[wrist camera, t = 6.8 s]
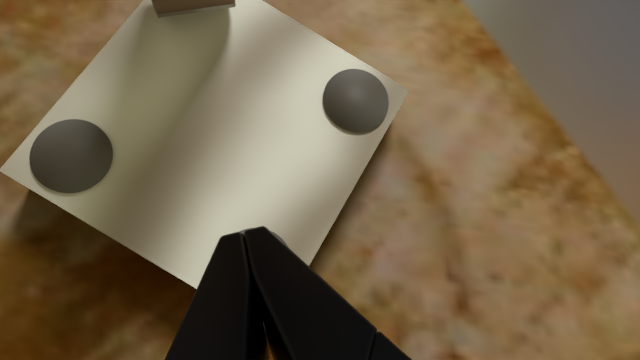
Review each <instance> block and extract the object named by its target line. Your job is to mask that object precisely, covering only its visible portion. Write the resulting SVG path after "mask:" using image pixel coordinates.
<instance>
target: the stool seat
mask: <svg viewBox="0 0 640 360" xmlns="http://www.w3.org/2000/svg"><path fill="white" fill-rule="evenodd" d="M235 3H236V6H235V7H232V8H225V9H218V10H210V11H203V12H196V13H189V14H182V15H175V16H168V17H161V18H158V17H157V15H156V12H155V10H154V7H153V4H152V1H151V0H143V1H142V2H141V4H140V5H139V6H138V7H137V8H136V10H135V11H134V12H133V13H132V14H131V15H130V17H129V18H128V19H127V20H126V21H125V22H124V24H123V25H122V26H121V27H120V28H119V30H118V31H117V32H116V33H115V34H114V35H113V37H112V38H111V39H110V40H109V41H108V43H107V44H106V45H105V46H104V47H103V48H102V50H101V51H100V52H99V53H98V54H97V55H96V57H95V58H94V59H93V60H92V61H91V63H90V64H89V65H88V66H87V67H86V68H85V70H84V71H83V72H82V73H81V74H80V76H79V77H78V78H77V79H76V80H75V81H74V83H73V84H72V85H71V86H70V87H69V89H68V90H67V91H66V92H65V93H64V94H63V96H62V97H61V98H60V99H59V100H58V101H57V103H56V104H55V105H54V106H53V107H52V109H51V110H50V111H49V112H48V113H47V114H46V116H45V117H44V118H43V119H42V120H41V122H40V123H39V124H38V125H37V126H36V127H35V129H34V130H33V131H32V132H31V133H30V135H29V136H28V137H27V138H26V139H25V140H24V142H23V143H22V144H21V145H20V146H19V147H18V149H17V150H16V151H15V152H14V153H13V155H12V156H11V157H10V158H9V159H8V160H7V162H6V163H5V164H4V165H3V166H2V168H1V169H0V171H1V172H2V173H4V174H6V175H7V176H9V177H11V178H12V179H14V180H16V181H17V182H19V183H21V184H22V185H24V186H26V187H27V188H29V189H31V190H32V191H34V192H36V193H37V194H39V195H41V196H42V197H44V198H46V199H47V200H49V201H51V202H52V203H54V204H56V205H57V206H59V207H61V208H62V209H64V210H66V211H67V212H69V213H71V214H72V215H74V216H76V217H77V218H79V219H81V220H82V221H84V222H86V223H87V224H89V225H91V226H92V227H94V228H96V229H97V230H99V231H101V232H102V233H104V234H106V235H107V236H109V237H111V238H112V239H114V240H116V241H117V242H119V243H121V244H122V245H124V246H126V247H127V248H129V249H131V250H132V251H134V252H136V253H137V254H139V255H141V256H142V257H144V258H146V259H147V260H149V261H151V262H152V263H154V264H156V265H157V266H159V267H161V268H162V269H164V270H166V271H167V272H169V273H171V274H172V275H174V276H176V277H177V278H179V279H181V280H182V281H184V282H186V283H187V284H189V285H191V286H192V287H194V288H196V289H197V287H198V285H199V283H200V281H201V278H202V276H203V274H204V272H205V270H206V267H207V265H208V263H209V261H210V259H211V256H212V254H213V252H214V250H215V248H216V245H217V243H218V241H219V239H220V237H221V236H223V235H227V234H231V233H235V232H242V233H243V234H244V231H245V230H247V229H251V228H256V227H260V226H265V227H266V228H268V229H269V230H270V231H271V232H272V233H273V234H274V235H275V236H276V237H278V238H279V239H280V240H281V241H282V242H283V243H284V244H285V245H286V246H287V247H288V248H290V249H291V250H292V251H293V252H294V253H295V254H296V255H297V256H298V257H299V258H300V259H302V260H303V261H304V262H305V263H306V264H307V265H308V266H309V265H310V263H311V262H312V260H313V258H314V256H315V255H316V253H317V251H318V249H319V248H320V246H321V244H322V242H323V241H324V239H325V237H326V235H327V234H328V232H329V230H330V228H331V227H332V225H333V223H334V221H335V220H336V218H337V216H338V214H339V213H340V211H341V209H342V207H343V206H344V204H345V202H346V200H347V199H348V197H349V195H350V193H351V192H352V190H353V188H354V186H355V185H356V183H357V181H358V179H359V178H360V176H361V174H362V173H363V171H364V169H365V167H366V166H367V164H368V162H369V160H370V159H371V157H372V155H373V153H374V152H375V150H376V148H377V146H378V145H379V143H380V141H381V139H382V138H383V136H384V134H385V132H386V131H387V129H388V127H389V125H390V124H391V122H392V120H393V118H394V117H395V115H396V113H397V111H398V110H399V108H400V106H401V104H402V103H403V101H404V99H405V97H406V96H407V94H408V92H409V90H408V89H406V88H405V87H403V86H402V85H400V84H398V83H397V82H395V81H393V80H392V79H390V78H388V77H387V76H385V75H384V74H382V73H380V72H379V71H377V70H375V69H374V68H372V67H370V66H369V65H367V64H365V63H364V62H362V61H361V60H359V59H357V58H356V57H354V56H352V55H351V54H349V53H347V52H346V51H344V50H343V49H341V48H339V47H338V46H336V45H334V44H333V43H331V42H329V41H328V40H326V39H324V38H323V37H321V36H320V35H318V34H316V33H315V32H313V31H311V30H310V29H308V28H306V27H305V26H303V25H302V24H300V23H298V22H297V21H295V20H293V19H292V18H290V17H288V16H287V15H285V14H283V13H282V12H280V11H279V10H277V9H275V8H274V7H272V6H270V5H269V4H267V3H265V2H264V1H262V0H235ZM264 328H265V327H264Z"/></svg>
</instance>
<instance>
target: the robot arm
mask: <svg viewBox="0 0 640 360" xmlns="http://www.w3.org/2000/svg"><path fill="white" fill-rule="evenodd" d="M264 327H265V328H264ZM265 331H266V332H265ZM266 335H267V338H266ZM267 339H268V343H269V346H270V349H271V353H272V356H273V359H274V360H412V359H411V358H409V357H408V356H407V355H406V354H405V353H404V352H402V351H401V350H400V349H399V348H398V347H397V346H396V345H394V344H393V343H392V342H391V341H390V340H389V339H388V338H387V337H386V336H385V335H384V334H382V333H381V332H377V328H376V327H375V326H373V325H372V324H371V323H370V322H369V321H368V320H367V319H366V318H365V317H364V316H363V315H361V314H360V313H359V312H358V311H357V310H356V309H355V308H354V307H353V306H352V305H351V304H349V303H348V302H347V301H346V300H345V299H344V298H343V297H342V296H341V295H340V294H339V293H337V292H336V291H335V290H334V289H333V288H332V287H331V286H330V285H329V284H328V283H327V282H325V281H324V280H323V279H322V278H321V277H320V276H319V275H318V274H317V273H316V272H315V271H314V270H312V269H311V268H310V267H309V266H308V265H307V264H306V263H305V262H304V261H303V260H302V259H300V258H299V257H298V256H297V255H296V254H295V253H294V252H293V251H292V250H291V249H290V248H288V247H287V246H286V245H285V244H284V243H283V242H282V241H281V240H280V239H279V238H278V237H276V236H275V235H274V234H273V233H272V232H271V231H270V230H269V229H268V228H266V227H265V226H260V227H256V228H251V229H247V230H245V231H244V234H243V233H242V232H235V233H231V234H227V235H223V236H221V237H220V239H219V241H218V243H217V245H216V248H215V250H214V252H213V254H212V256H211V259H210V261H209V263H208V265H207V267H206V270H205V272H204V274H203V276H202V278H201V281H200V283H199V285H198V287H197V290H196V292H195V294H194V296H193V298H192V301H191V303H190V305H189V307H188V309H187V312H186V314H185V316H184V318H183V320H182V323H181V325H180V327H179V329H178V331H177V334H176V336H175V338H174V340H173V342H172V345H171V347H170V349H169V351H168V353H167V356H166V358H165V360H269V352H268V343H267Z"/></svg>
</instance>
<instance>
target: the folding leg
mask: <svg viewBox="0 0 640 360" xmlns="http://www.w3.org/2000/svg"><path fill="white" fill-rule="evenodd" d="M151 1H152V4H153V7H154V10H155V12H156V15H157V17H158V18H161V17H168V16H175V15H182V14H189V13H196V12H203V11H210V10H218V9H225V8H232V7H235V6H236V3H235V0H151Z"/></svg>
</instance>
